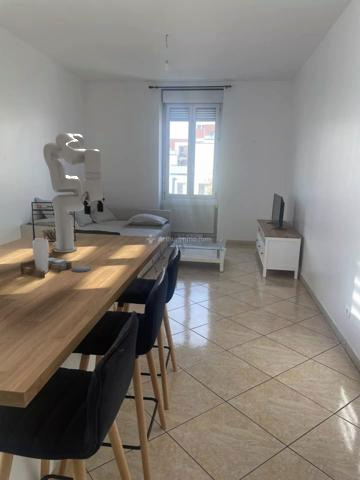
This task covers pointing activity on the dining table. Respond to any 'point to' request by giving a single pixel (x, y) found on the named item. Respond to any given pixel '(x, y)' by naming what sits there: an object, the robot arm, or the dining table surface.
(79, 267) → the felt coaster
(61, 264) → the walnut cubby
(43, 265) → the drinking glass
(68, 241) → the robot arm
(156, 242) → the dining table surface
